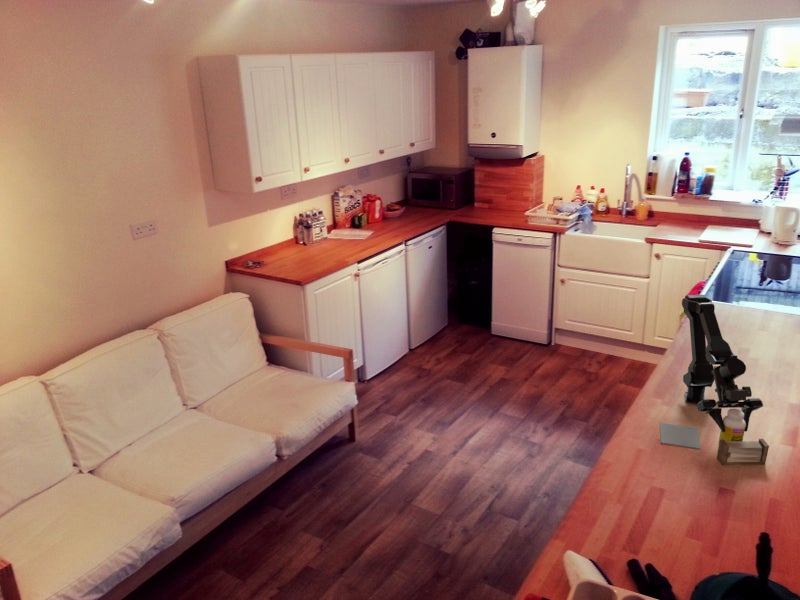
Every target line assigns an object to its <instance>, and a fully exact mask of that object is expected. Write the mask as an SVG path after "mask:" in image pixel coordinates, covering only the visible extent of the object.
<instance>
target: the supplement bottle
mask: <svg viewBox="0 0 800 600" xmlns="http://www.w3.org/2000/svg"><path fill="white" fill-rule="evenodd" d="M743 418H744V413H743V412H742V410H741V409H738V408H728V410H727V415H725V416H724V417H722V419H723V423H724V427H725V432H722V431H721V430H720V433H719V439H718V443H719V442H720V440H725V441H744V434H745V426H746V422H745V421H744V419H743Z"/></svg>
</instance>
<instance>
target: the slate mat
mask: <svg viewBox="0 0 800 600" xmlns="http://www.w3.org/2000/svg"><path fill="white" fill-rule="evenodd" d="M659 425H660V427H659V428H660V429H659V431H660V434H659V435H660V438H659V439H660V444H662V445H663V444H664V445H668V446H677V447H682V448H688V449H696V450H701V440H700V433H699V428H698V427H693V426H688V425H680V424H673V423H666V422H659Z"/></svg>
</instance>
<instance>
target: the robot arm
mask: <svg viewBox="0 0 800 600" xmlns="http://www.w3.org/2000/svg"><path fill="white" fill-rule="evenodd" d="M712 301H713V300H712V299H710V298H709V297H707V296H706V295H705V294H686V295H685V297H683V298H682V299H681V306H682V308H683V313H684V315H685V316H686V317H687V318H688V320H689V332H690V345H691V361H690V363H689V364H688V367H687V372H686V373H684V374H683V375H682V381H683V383H684V385H686V387H687V390H686V391H685V392H684V399H685V403H692V404H697V405H696V407H697V408H696V409H697V412H705V414H706V415H709V416H710V417H711V418H712V419H713V421H714V422H715V424H716V425H717V426H718V428H719V430H720V432H721V431H722V432H725V427H724V423H723V416H722V409H738V408H740V410H741V411H742V412H743V413H744V418H743V419H744V421H745V422H746V426H745V431H744V433H745V432H748V429H749V423H750V417H751V415H752V413H753V412H754V411H757V410H759V409H761V408H763V407H764V404H763V400H762V399H760V398H757V397H754V398H751V397H752V390H751V389H752V388H751V386H741V388H739V387H738V386H739V385H738V384H735V383H736V382H735V380H736V379H737V378H739V377H741V376H742V375H744V374H745V373H746V371H747V366H746V364H745V363H744V361H743V360H742V359H740V358H738V355H736V354H735V353H734V351H732V349H731V347H730V345H729V342H727V341H726V340H725V339H724V338H723V336H722V332H721V329H720V326H719V322H718V318H717V316H716V313H715V310H716V308H715V304H714V302H712ZM713 384H714V385H715V389H714V391H715V393H717V399H718V400H717V401H716V400H715V398H712V399H710V398H709V399H705V391H706V388H712V386H713Z"/></svg>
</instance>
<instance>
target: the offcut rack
mask: <svg viewBox="0 0 800 600" xmlns="http://www.w3.org/2000/svg"><path fill="white" fill-rule="evenodd" d="M769 449H770V445H769V444H768V443H767V442H766V440H764V438H758V441H757V440H755V441H753V440H752V441H750V440H749V441H747V440H746V441H744V440H743V441H725V440H720V442H719V441H718V449H717V455H716V459H717V461H718V462H719V464H720V466H721V467H722V466H725V467H726V466H765V465H766V462H767V457H768V453H769Z"/></svg>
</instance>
